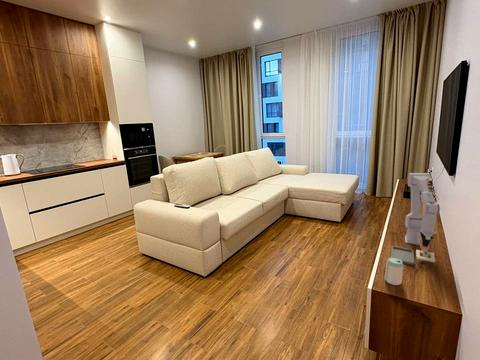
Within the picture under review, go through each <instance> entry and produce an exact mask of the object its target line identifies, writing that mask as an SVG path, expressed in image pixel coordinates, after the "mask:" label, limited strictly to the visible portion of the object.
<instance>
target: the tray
mask: <svg viewBox="0 0 480 360" xmlns="http://www.w3.org/2000/svg"><path fill="white" fill-rule="evenodd" d="M390 248H391V250H390V252H391V253H390V257H396V258H399V259H401V260H402V263H403V264H405V265H409V266H415V264H416V263H415V262H416V261H415V255H414V253H415V251H414V249H412V248H407V247H403V246H402V247H401V246H397V245H391V247H390Z"/></svg>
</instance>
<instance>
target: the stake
mask: <svg viewBox="0 0 480 360" xmlns="http://www.w3.org/2000/svg"><path fill="white" fill-rule="evenodd" d="M427 252H428V251H427ZM427 252H425V251H424V253H423V254H422V255H421V257H426V258H429V255H428V254H427ZM427 263H428V261H426V260H421V264H427Z"/></svg>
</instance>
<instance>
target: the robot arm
mask: <svg viewBox="0 0 480 360" xmlns="http://www.w3.org/2000/svg"><path fill="white" fill-rule="evenodd" d="M429 181H430V174H429V173H428V172H424V173H423V172H409V173H408V174H407V186H408V187H410V213H408V214H407V215H405V219H404V226H405V227H406V235H404V240H405V241H404V243H406V244H412V245H417V246H420V244H421V239H422V244H423V246H424V247H428V245H429V243H430V244H431V241H432V240H433V239H434V236H433V235H434V234H435V235H436V234H437V231H435V226H436V219H437V215H438V214H439V213H440V211H441V210H440V209H441V208H440V203H438V202H437V201H436V200H435V198H434V194H433V193H432V192H430V190H429V185H428V184H429ZM421 202H422V210H421ZM421 211H422V214H421Z"/></svg>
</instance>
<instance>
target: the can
mask: <svg viewBox="0 0 480 360" xmlns="http://www.w3.org/2000/svg"><path fill="white" fill-rule="evenodd" d="M403 273H404V263H402V260H401V259H399V258H396V257H391V256H390V257H388V259H387V260H386V265H385V273H384V280H385V282H387V283H388V284H390V285H393V286H399V285H401V284H402V281H403V280H402V279H403Z"/></svg>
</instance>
